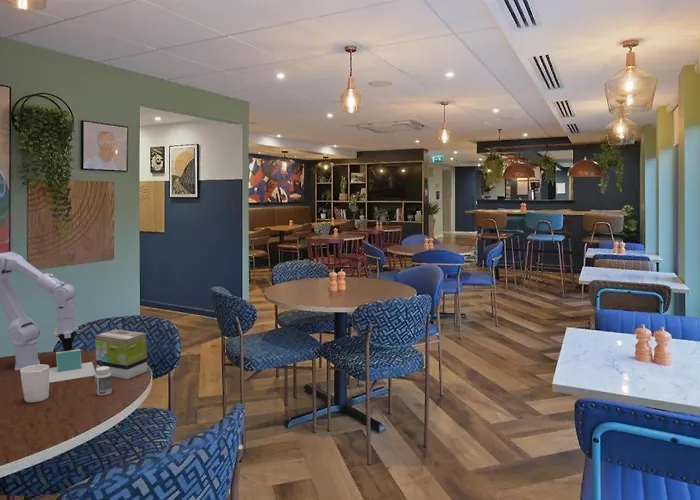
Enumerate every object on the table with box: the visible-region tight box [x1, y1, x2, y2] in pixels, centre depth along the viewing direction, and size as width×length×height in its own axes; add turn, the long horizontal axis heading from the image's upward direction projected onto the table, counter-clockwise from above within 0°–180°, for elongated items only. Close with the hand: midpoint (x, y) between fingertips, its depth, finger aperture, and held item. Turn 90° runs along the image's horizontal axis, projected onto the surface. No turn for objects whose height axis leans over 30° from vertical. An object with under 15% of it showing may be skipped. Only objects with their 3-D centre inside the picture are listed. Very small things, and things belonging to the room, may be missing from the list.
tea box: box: [94, 328, 148, 380], centre depth 193 cm, size 15×10×15 cm, turn 68°
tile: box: [55, 348, 82, 372], centre depth 196 cm, size 1×8×7 cm, turn 121°
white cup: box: [19, 363, 50, 403], centre depth 169 cm, size 8×8×10 cm
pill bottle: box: [94, 366, 113, 396], centre depth 173 cm, size 5×5×8 cm
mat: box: [49, 361, 96, 384], centre depth 194 cm, size 18×16×1 cm
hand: (67, 352), depth 201 cm, fingers closed
